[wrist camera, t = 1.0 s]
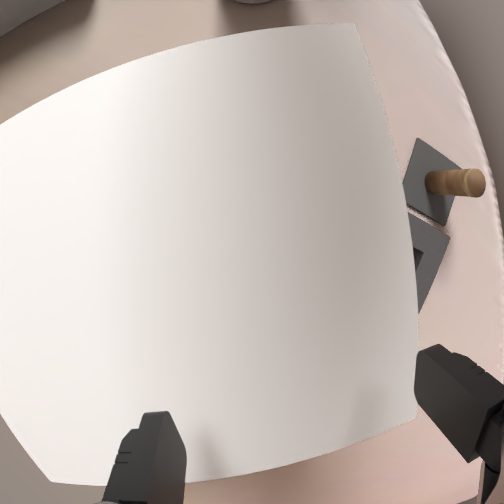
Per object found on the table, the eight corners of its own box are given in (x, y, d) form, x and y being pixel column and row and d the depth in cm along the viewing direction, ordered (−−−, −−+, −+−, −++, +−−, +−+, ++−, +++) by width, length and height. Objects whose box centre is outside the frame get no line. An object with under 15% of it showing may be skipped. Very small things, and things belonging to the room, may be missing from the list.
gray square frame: (371, 197, 37) (382, 198, 34) (437, 234, 39) (450, 237, 36) (334, 286, 39) (343, 294, 36) (404, 313, 40) (415, 320, 38)
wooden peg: (428, 166, 37) (471, 163, 28) (444, 177, 37) (488, 177, 28) (421, 188, 37) (464, 189, 28) (438, 198, 38) (481, 202, 29)
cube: (273, 124, 35) (353, 23, 11) (314, 296, 39) (416, 417, 15) (75, 183, 34) (-79, 185, 10) (126, 343, 38) (50, 481, 14)
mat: (416, 138, 36) (418, 137, 36) (460, 169, 37) (462, 169, 37) (396, 198, 37) (398, 198, 37) (443, 225, 39) (445, 226, 38)
